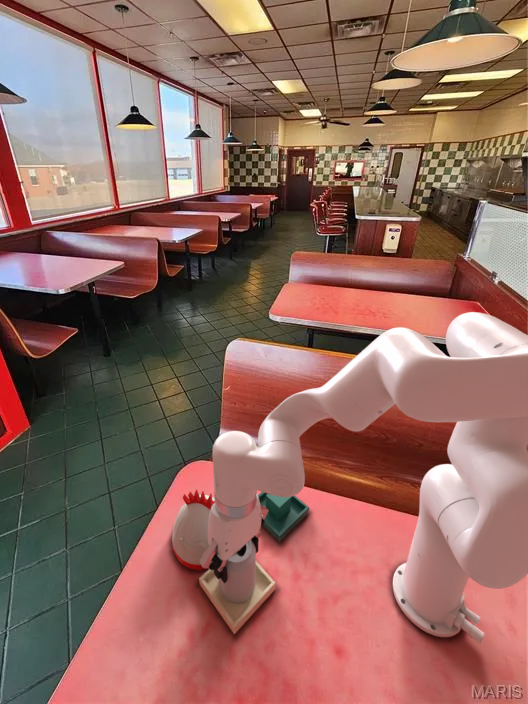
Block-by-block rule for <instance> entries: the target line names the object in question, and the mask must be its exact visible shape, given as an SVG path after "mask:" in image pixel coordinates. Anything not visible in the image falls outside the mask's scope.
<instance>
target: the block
mask: <svg viewBox="0 0 528 704" xmlns="http://www.w3.org/2000/svg"><path fill="white" fill-rule="evenodd" d="M266 508H267V509H268V510H269V512H270V513H271V514H272V515H273V516H275V517H276V518H277V519H278V520H280V519H281V518H282V517H283V516H284V515H285V514H286V513H287V512H288V511H290V510H291V497H279V496H274V495H271V494H267V495H266Z"/></svg>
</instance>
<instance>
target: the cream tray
mask: <svg viewBox="0 0 528 704" xmlns="http://www.w3.org/2000/svg"><path fill="white" fill-rule="evenodd" d="M198 580H199V581H198V582H199V586H200V587H201V589H202V590H203V592H204V593H205V595H206V597H208V599H209V601H210V602H211V603H212V604H213V606H214V607H215V609H216V610H217V612H218V613H219V615H220V616H221V617H222V619H223V620H224V622H225V623H226V625H227V626H228V627H229V629H230V630H231V632H232V633H233V635H235V634H236V633H237V632H238V631H239V630H240V629H241V628H242V627H243V625H245V623H246V622H247V621H249V619H250V618H251V617H252V616H253V614H254V613H255V612H257V610H258V609H259V608H260V607H261V606H262V604H263V603H264V602H266V600H267V599H268V598H269V597H270V596H271V594H273V592H275V590H276V583H277V582H276V581H275V580H274V579H273V578H272V577H271V576H270V575H269V574H268V572H266V570H265V569H264V568H263V567H262V566H261V565H260V563H259V562H258V561H257V560H256V580H255V589H254V592H253V594H252V595H251V597H250V598H249V599H248V600H246V601H245V602H242V603H233V602H230V601H228V600H227V599H226V598H225V597H224V596H223V594H222V592H221V590H220V585H219V579H217V577H216V576H215V574H214V570H210V569H209V568H208V570H206V571H205V572H204V573H203V574H202V575H201V576H200V577H199V578H198Z"/></svg>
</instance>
